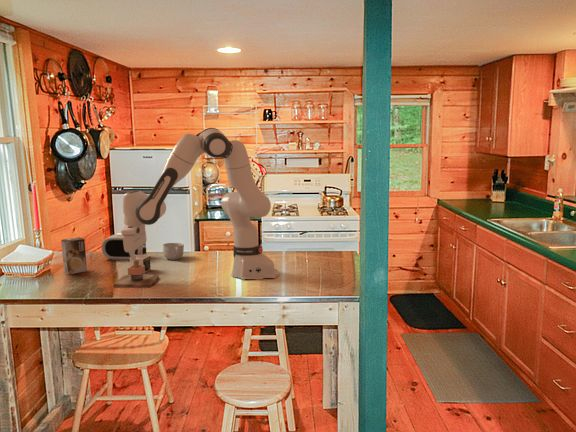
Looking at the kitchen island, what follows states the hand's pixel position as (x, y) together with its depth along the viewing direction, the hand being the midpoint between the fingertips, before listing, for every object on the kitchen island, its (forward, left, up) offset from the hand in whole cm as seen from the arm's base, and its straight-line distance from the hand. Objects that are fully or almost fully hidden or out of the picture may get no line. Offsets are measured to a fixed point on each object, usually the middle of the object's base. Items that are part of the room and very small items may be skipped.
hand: (136, 257), depth 224 cm
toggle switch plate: (0, +1, -11) cm, 11 cm away
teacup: (-7, -41, -12) cm, 43 cm away
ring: (0, +1, -7) cm, 7 cm away
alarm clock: (+20, -42, -12) cm, 48 cm away
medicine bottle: (+4, -18, -12) cm, 22 cm away
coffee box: (+35, -16, -12) cm, 40 cm away
